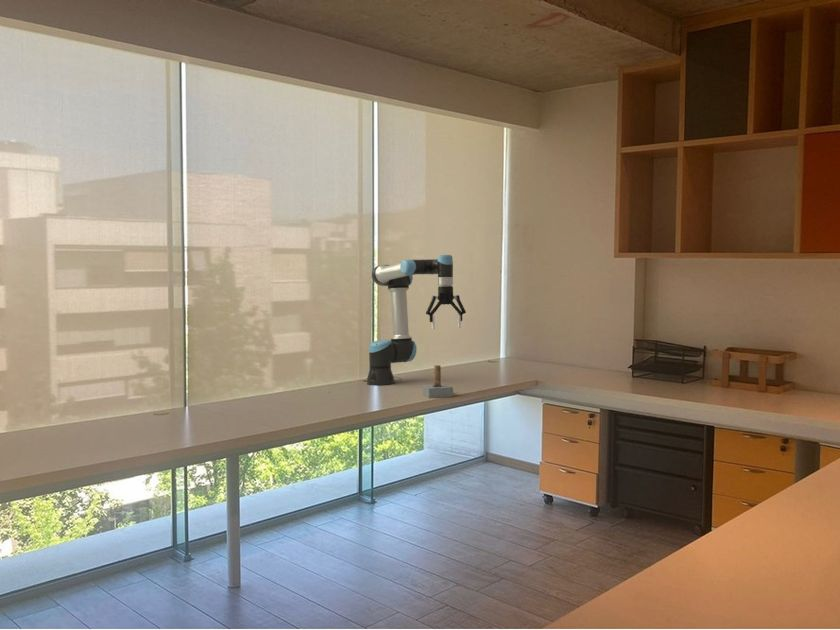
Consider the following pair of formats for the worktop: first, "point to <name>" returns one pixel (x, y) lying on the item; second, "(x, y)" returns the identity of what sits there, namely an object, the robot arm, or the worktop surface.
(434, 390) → the socket block
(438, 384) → the dowel
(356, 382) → the worktop surface
